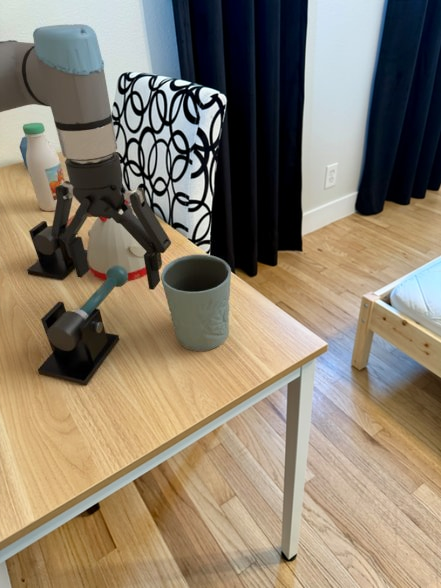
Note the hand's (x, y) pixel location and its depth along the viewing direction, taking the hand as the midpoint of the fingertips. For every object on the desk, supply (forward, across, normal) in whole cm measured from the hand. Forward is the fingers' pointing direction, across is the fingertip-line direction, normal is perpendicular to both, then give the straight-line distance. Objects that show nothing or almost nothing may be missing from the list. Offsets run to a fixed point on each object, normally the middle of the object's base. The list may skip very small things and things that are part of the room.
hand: (118, 279), depth 73 cm
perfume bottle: (+5, +60, -57) cm, 83 cm away
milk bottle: (+5, +37, -33) cm, 50 cm away
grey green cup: (+6, -16, +3) cm, 17 cm away
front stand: (+6, 0, +12) cm, 14 cm away
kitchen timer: (+6, +7, -13) cm, 15 cm away
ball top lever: (+2, 0, +7) cm, 7 cm away
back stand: (+5, +19, -10) cm, 22 cm away
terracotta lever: (+1, +19, -15) cm, 24 cm away
